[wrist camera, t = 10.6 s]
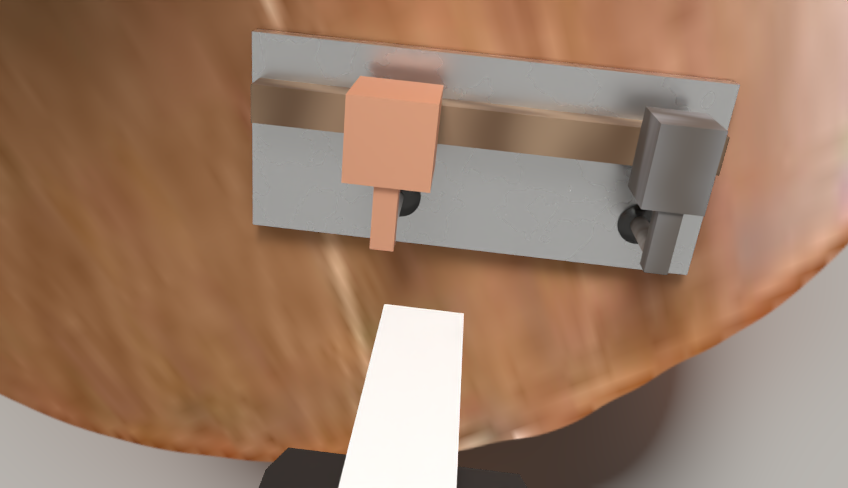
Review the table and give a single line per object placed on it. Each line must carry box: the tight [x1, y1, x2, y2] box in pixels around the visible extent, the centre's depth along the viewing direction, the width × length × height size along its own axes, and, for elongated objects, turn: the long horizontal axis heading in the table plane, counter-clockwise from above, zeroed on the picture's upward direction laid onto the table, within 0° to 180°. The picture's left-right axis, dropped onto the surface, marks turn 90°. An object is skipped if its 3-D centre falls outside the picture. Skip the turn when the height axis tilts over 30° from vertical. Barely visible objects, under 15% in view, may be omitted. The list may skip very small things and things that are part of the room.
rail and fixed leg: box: [251, 78, 729, 275], centre depth 43 cm, size 29×9×6 cm, turn 84°
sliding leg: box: [341, 76, 444, 252], centre depth 43 cm, size 5×9×7 cm, turn 174°
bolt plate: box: [252, 29, 740, 275], centre depth 47 cm, size 30×13×1 cm, turn 84°
